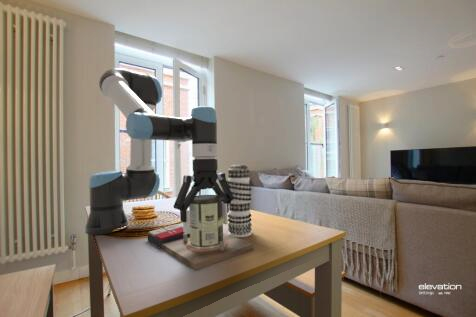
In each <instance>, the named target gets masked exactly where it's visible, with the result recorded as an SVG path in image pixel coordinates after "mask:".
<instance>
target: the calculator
mask: <svg viewBox="0 0 476 317" xmlns="http://www.w3.org/2000/svg"><path fill="white" fill-rule="evenodd" d="M184 233H185V232H183V222H181V223H178V224H172V225H168V226H165V227H161V228H157V229H154V230H151V231H150V230H149V231H148V232H147V234H146V235H147V241H148V242H149V243H151V245H154V246H156V247H157V248H158V249H161V250H163V249H162V244H163V243H167V242H171V241H175V240H178V239H182V238H183V234H184ZM187 237H190V234H187Z"/></svg>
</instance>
